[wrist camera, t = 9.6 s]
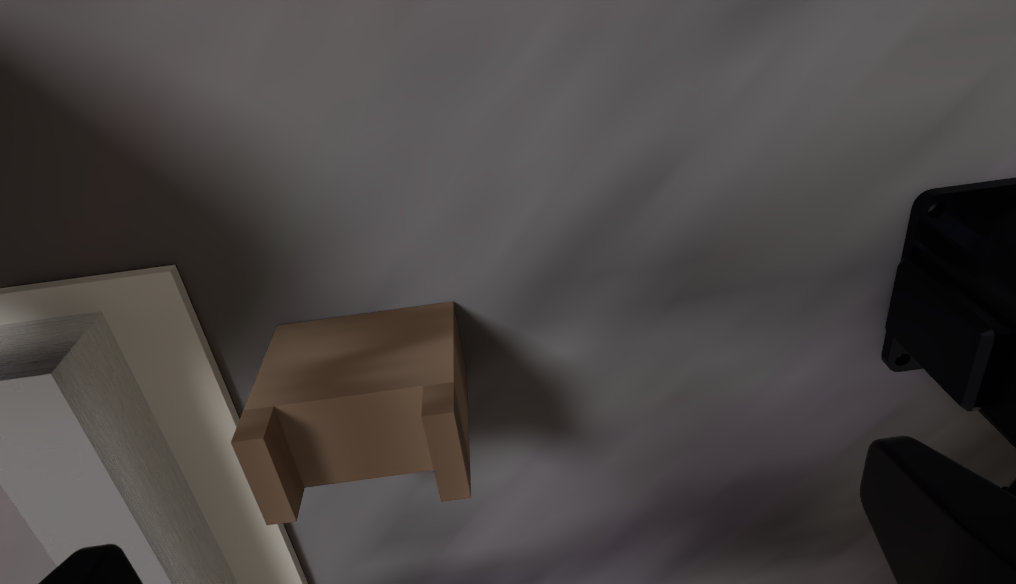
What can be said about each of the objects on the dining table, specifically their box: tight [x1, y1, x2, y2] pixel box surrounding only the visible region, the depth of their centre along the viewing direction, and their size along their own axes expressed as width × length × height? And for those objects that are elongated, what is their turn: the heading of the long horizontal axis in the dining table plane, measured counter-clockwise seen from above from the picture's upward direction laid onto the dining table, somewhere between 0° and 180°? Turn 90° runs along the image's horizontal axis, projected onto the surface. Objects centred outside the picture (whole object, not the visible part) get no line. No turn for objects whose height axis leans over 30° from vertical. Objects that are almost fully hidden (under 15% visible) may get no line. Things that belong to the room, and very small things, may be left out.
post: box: [231, 302, 471, 525], centre depth 20 cm, size 6×3×5 cm, turn 96°
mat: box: [0, 265, 308, 584], centre depth 26 cm, size 8×24×1 cm, turn 6°
